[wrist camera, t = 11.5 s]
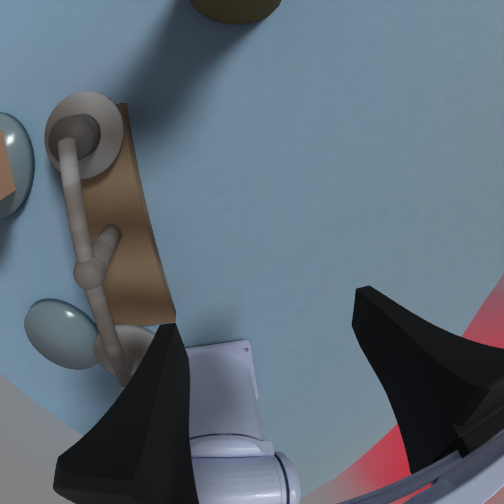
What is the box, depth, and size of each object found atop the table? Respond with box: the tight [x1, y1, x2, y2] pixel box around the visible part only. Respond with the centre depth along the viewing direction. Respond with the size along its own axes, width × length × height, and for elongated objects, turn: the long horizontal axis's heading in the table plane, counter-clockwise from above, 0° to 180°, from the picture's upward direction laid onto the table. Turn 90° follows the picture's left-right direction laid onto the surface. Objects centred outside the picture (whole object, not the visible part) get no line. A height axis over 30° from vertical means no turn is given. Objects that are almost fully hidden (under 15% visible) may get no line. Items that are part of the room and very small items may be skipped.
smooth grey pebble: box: [24, 299, 99, 370], centre depth 22 cm, size 8×8×1 cm
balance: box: [45, 92, 176, 387], centre depth 16 cm, size 19×5×8 cm, turn 6°
